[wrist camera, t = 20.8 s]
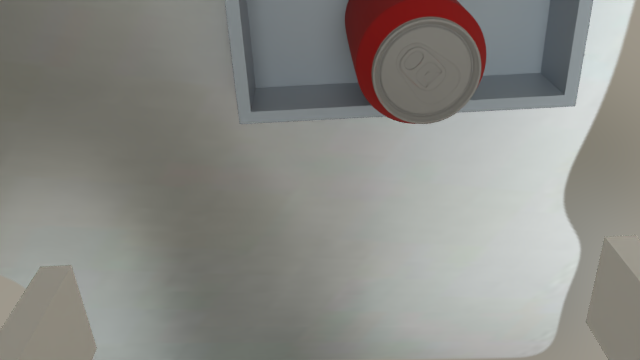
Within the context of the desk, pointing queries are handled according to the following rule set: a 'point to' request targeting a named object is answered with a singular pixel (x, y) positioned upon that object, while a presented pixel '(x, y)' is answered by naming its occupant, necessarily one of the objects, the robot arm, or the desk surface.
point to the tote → (340, 77)
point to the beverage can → (415, 56)
